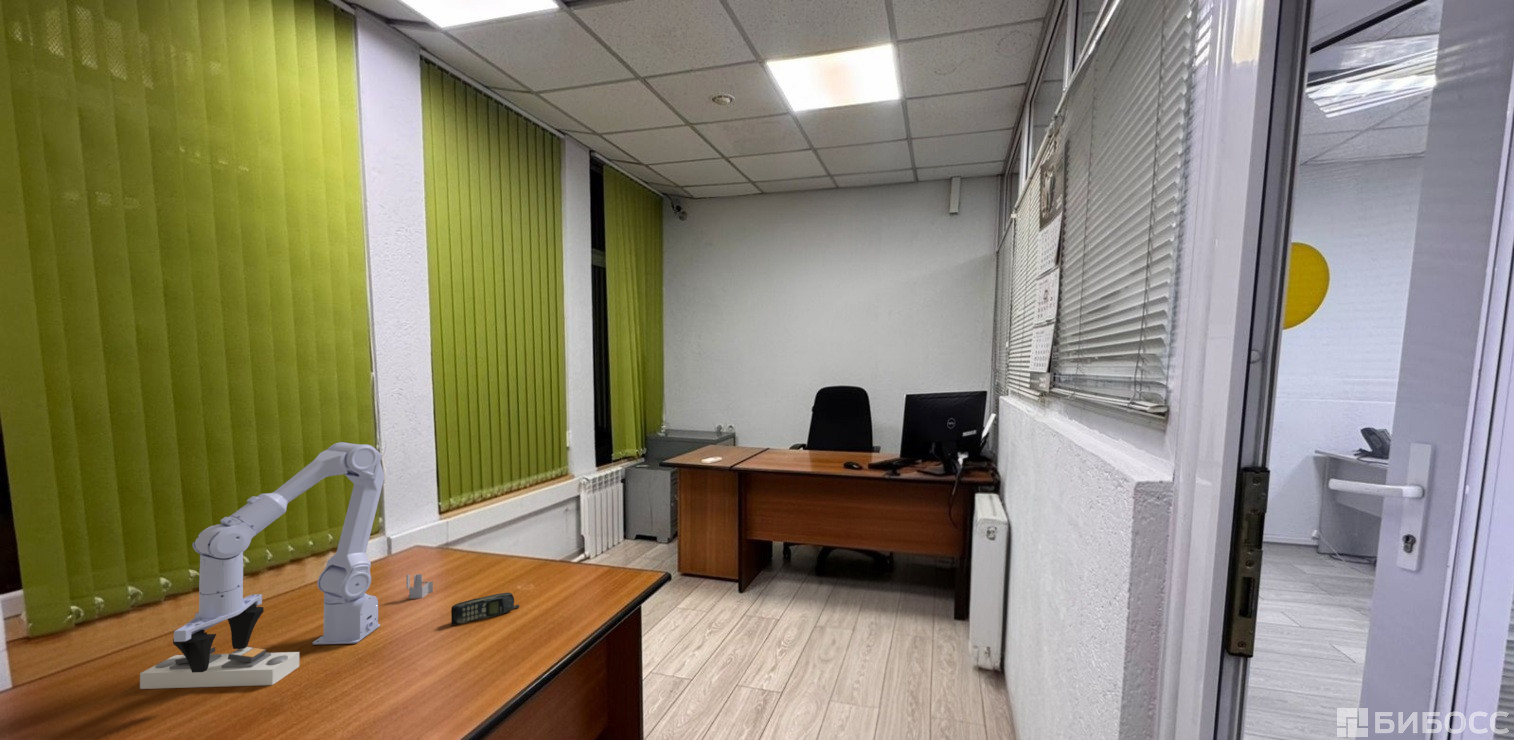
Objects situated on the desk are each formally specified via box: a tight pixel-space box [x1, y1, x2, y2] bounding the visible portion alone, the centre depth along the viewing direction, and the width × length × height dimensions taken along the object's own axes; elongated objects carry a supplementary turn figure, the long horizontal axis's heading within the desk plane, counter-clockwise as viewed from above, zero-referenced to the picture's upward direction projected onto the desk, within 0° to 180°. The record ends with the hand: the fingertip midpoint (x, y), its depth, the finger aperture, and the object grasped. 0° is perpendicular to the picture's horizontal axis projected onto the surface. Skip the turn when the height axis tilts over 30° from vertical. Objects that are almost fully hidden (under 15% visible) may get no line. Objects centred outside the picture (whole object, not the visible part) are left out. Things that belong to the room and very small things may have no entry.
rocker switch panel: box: [139, 651, 300, 690], centre depth 98 cm, size 24×6×4 cm, turn 93°
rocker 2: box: [228, 646, 267, 662], centre depth 99 cm, size 4×3×1 cm
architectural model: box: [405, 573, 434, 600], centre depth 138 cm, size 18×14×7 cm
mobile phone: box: [450, 592, 520, 626], centre depth 123 cm, size 5×3×15 cm
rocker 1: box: [175, 646, 216, 664], centre depth 98 cm, size 4×3×1 cm
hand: (220, 659), depth 95 cm, fingers open, 7 cm apart
